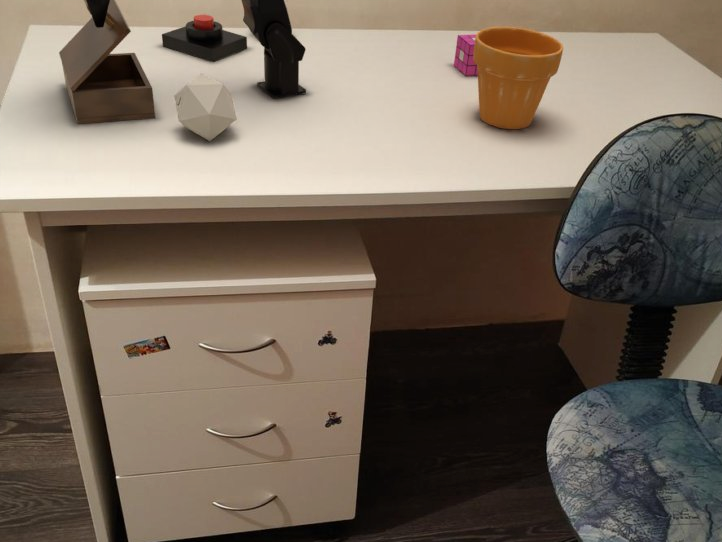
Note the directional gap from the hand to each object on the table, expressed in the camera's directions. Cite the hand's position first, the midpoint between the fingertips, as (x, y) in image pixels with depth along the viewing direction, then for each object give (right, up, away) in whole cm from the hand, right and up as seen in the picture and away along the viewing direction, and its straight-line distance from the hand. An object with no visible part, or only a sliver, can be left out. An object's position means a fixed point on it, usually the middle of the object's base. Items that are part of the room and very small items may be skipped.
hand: (96, 20), depth 121 cm
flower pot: (+64, -10, +17) cm, 67 cm away
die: (+16, -16, +2) cm, 23 cm away
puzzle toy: (+60, +6, +34) cm, 69 cm away
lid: (-1, -3, +2) cm, 3 cm away
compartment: (-1, -9, +8) cm, 12 cm away
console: (+9, +9, +31) cm, 33 cm away
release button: (+10, +12, +28) cm, 32 cm away
